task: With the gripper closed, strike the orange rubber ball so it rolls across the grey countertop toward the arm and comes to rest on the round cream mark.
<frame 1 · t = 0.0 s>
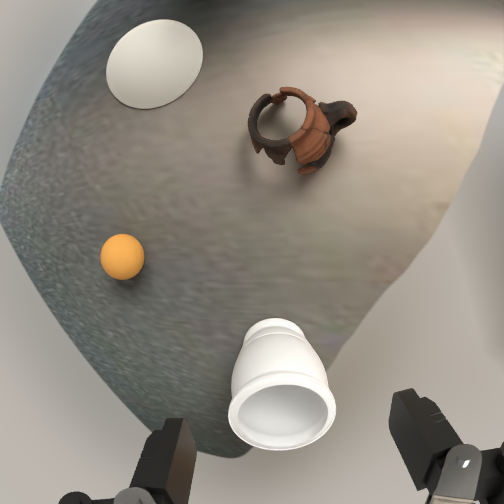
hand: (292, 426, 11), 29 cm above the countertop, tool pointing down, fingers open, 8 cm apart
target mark: (152, 61, 34), on the countertop
jar: (274, 343, 42), on the countertop
ball: (122, 256, 37), on the countertop
pottery mug: (300, 132, 36), on the countertop
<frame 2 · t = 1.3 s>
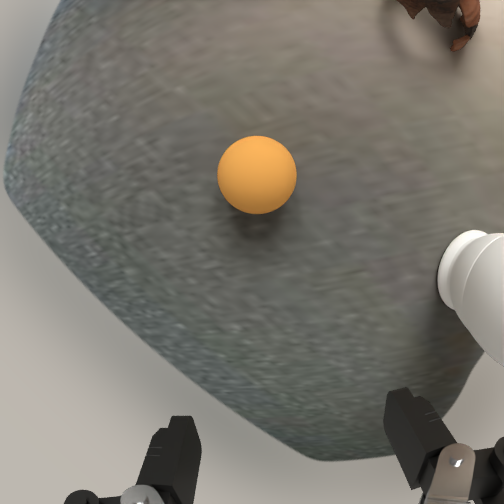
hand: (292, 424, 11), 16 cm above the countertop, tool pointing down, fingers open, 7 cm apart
jar: (467, 270, 27), on the countertop
ball: (256, 174, 22), on the countertop
pottery mug: (431, 8, 21), on the countertop
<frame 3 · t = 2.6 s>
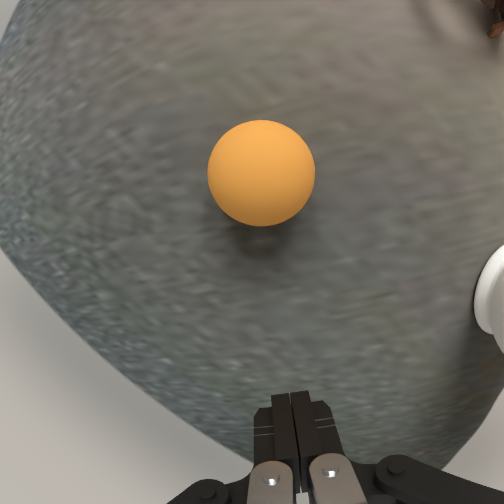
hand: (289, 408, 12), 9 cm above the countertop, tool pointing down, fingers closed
ball: (261, 172, 16), on the countertop
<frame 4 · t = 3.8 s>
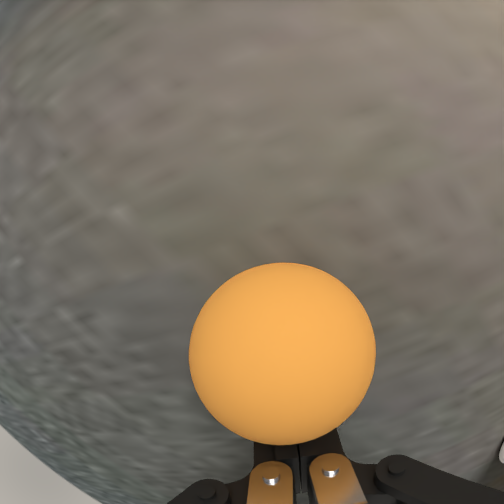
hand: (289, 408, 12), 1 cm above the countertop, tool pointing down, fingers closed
ball: (282, 354, 9), on the countertop
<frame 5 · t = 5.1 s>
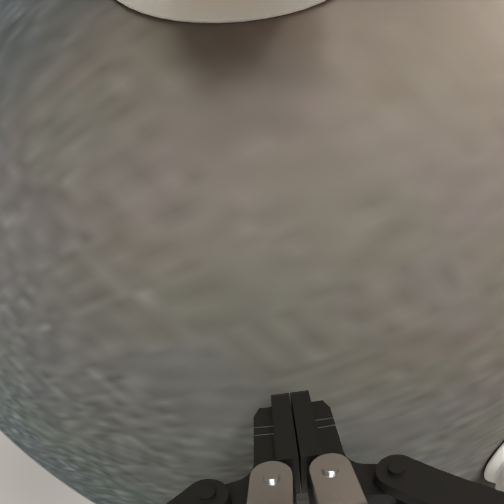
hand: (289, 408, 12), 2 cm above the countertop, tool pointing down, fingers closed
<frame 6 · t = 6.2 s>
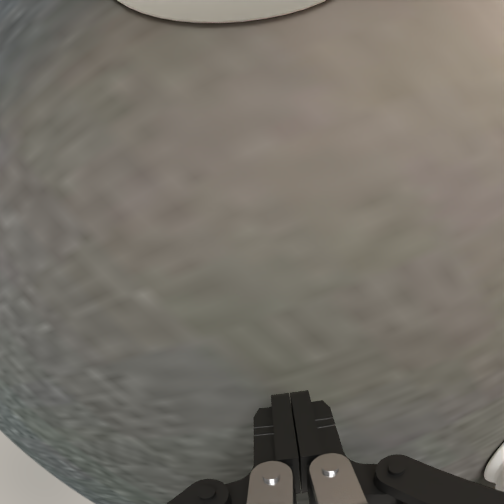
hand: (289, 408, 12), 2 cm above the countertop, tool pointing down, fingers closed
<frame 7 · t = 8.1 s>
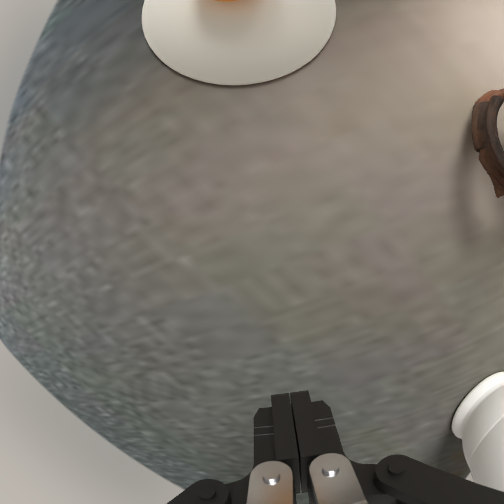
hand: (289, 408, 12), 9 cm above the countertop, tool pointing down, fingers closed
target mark: (237, 1, 16), on the countertop
jar: (482, 403, 23), on the countertop
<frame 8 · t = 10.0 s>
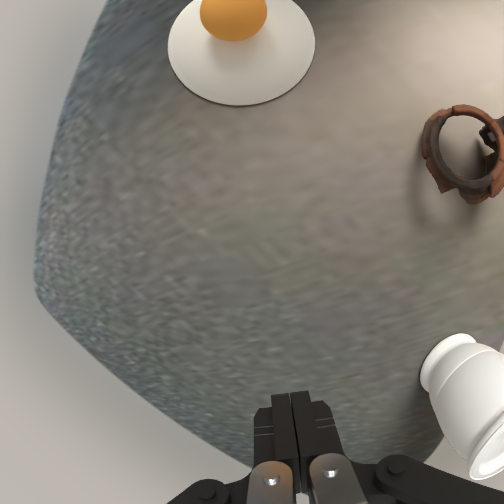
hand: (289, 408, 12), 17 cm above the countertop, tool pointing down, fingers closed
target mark: (240, 39, 23), on the countertop
jar: (447, 362, 31), on the countertop
ball: (233, 11, 20), on the countertop
pottery mug: (459, 152, 26), on the countertop
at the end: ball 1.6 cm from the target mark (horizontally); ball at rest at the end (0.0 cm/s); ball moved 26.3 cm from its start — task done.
